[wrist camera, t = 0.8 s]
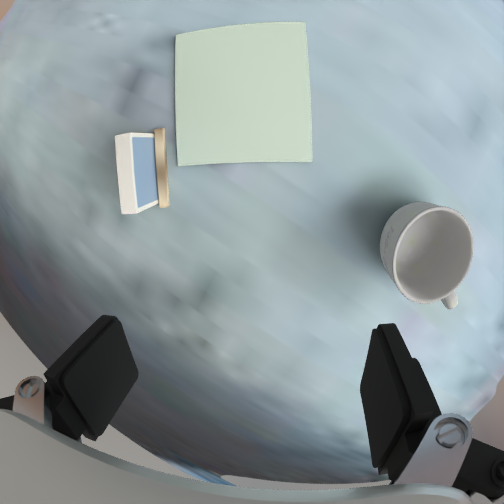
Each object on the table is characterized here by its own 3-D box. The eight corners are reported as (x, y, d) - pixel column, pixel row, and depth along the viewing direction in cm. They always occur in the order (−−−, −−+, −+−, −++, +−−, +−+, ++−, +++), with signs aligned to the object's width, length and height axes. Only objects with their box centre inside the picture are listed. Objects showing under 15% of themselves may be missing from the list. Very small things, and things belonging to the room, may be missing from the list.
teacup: (361, 214, 32) (379, 233, 25) (433, 182, 29) (466, 192, 22) (391, 305, 36) (409, 339, 28) (454, 274, 33) (481, 300, 25)
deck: (143, 136, 32) (115, 135, 26) (156, 133, 32) (129, 132, 26) (148, 202, 36) (122, 214, 29) (161, 202, 35) (136, 213, 29)
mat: (177, 35, 27) (175, 34, 27) (304, 23, 25) (305, 21, 24) (179, 166, 33) (178, 166, 33) (312, 161, 31) (312, 162, 30)
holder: (134, 133, 32) (130, 133, 31) (164, 128, 32) (161, 128, 31) (139, 207, 36) (136, 208, 35) (170, 205, 35) (166, 207, 34)
